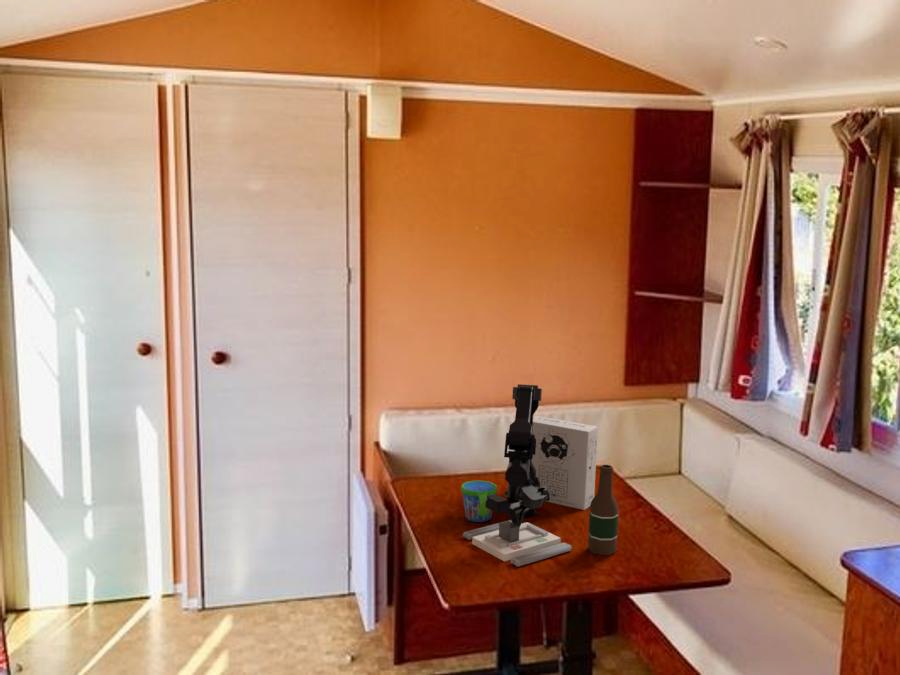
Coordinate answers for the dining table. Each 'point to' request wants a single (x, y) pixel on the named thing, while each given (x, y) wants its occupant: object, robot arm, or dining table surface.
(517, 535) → the switch knob
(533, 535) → the breaker panel
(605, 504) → the beer bottle
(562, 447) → the cereal box
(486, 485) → the snack cup
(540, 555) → the grey twin rods
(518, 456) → the robot arm
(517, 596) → the dining table surface
